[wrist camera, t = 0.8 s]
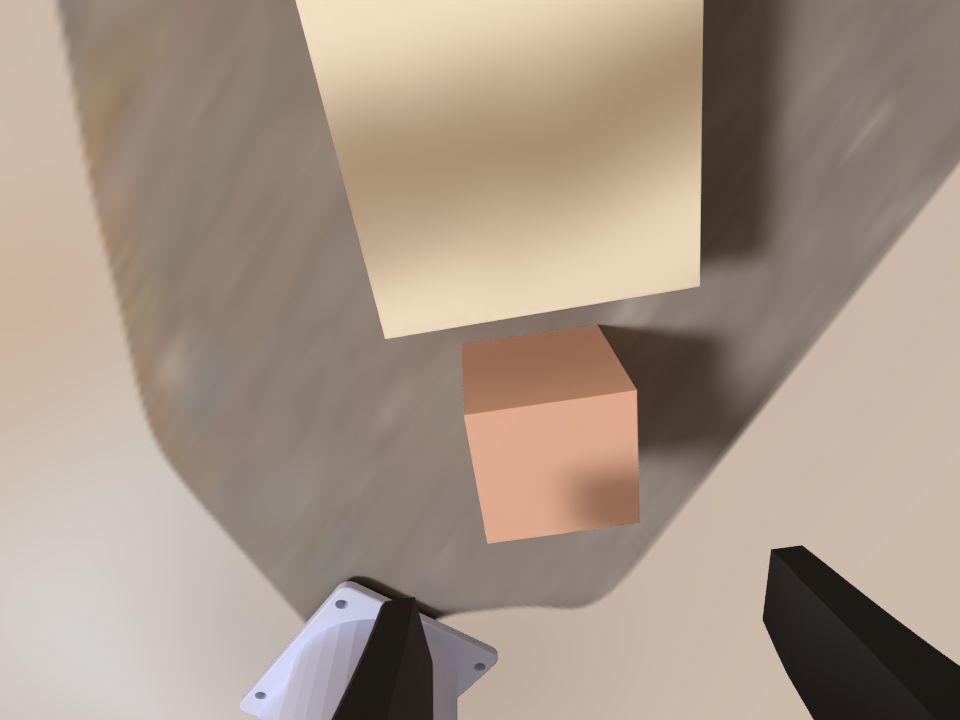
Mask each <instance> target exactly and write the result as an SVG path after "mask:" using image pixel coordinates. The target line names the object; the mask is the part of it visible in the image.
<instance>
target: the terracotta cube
mask: <svg viewBox="0 0 960 720" xmlns="http://www.w3.org/2000/svg"><path fill="white" fill-rule="evenodd" d="M462 364H463V400H464V418H465V424H466V429H467V435H468V440H469V445H470V451H471V456H472V462H473V467H474V473H475V478H476V483H477V489H478V494H479V500H480V505H481V511H482V516H483V521H484V527H485V532H486V538H487V543H488V544H489V543H496V542H503V541H510V540H518V539H525V538H532V537H539V536H547V535H554V534H561V533H568V532H576V531H583V530H590V529H597V528H604V527H612V526H619V525H626V524H633V523H640V519H639V471H638V423H637V390H636V388H635V386H634V385H633V383H632V381H631V380H630V378H629V376H628V375H627V373H626V371H625V370H624V368H623V366H622V365H621V363H620V361H619V360H618V358H617V356H616V355H615V353H614V351H613V350H612V348H611V346H610V345H609V343H608V341H607V340H606V338H605V336H604V335H603V333H602V331H601V330H600V328H599V326H598V325H591V326H584V327H577V328H570V329H564V330H557V331H550V332H543V333H536V334H530V335H523V336H516V337H509V338H503V339H496V340H489V341H482V342H475V343H469V344H462Z"/></svg>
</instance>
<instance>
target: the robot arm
mask: <svg viewBox="0 0 960 720" xmlns="http://www.w3.org/2000/svg"><path fill="white" fill-rule="evenodd" d="M341 600H345V601H341ZM763 622H764V624H765V626H766V629H767V631H768V633H769V635H770V638H771V640H772V642H773V644H774V647H775V649H776V651H777V653H778V655H779V657H780V660H781V662H782V664H783V666H784V668H785V670H786V673H787V674H788V676H789V678H790V679H791V681H792V683H793V685H794V686H795V688H796V690H797V691H798V693H799V695H800V697H801V699H802V700H803V702H804V704H805V706H806V707H807V709H808V711H809V712H810V714H811V716H812V718H813V719H814V720H960V666H959V665H958V664H956V663H955V662H953V661H952V660H951V659H949V658H948V657H946V656H945V655H943V654H942V653H941V652H939V651H938V650H937V649H935V648H934V647H933V646H931V645H930V644H928V643H927V642H926V641H924V640H923V639H922V638H920V637H919V636H917V635H916V634H915V633H914V632H912V631H911V630H910V629H908V628H907V627H906V626H904V625H903V624H902V623H900V622H899V621H898V620H896V619H895V618H894V617H892V616H891V615H890V614H889V613H887V612H886V611H885V610H883V609H882V608H881V607H880V606H878V605H877V604H876V603H874V602H873V601H872V600H871V599H869V598H868V597H867V596H865V595H864V594H863V593H862V592H860V591H859V590H858V589H857V588H855V587H854V586H853V585H851V584H850V583H849V582H848V581H846V580H845V579H844V578H843V577H841V576H840V575H839V574H838V573H836V572H835V571H834V570H833V569H831V568H830V567H829V566H828V565H826V564H825V563H824V562H822V561H821V560H820V559H819V558H818V557H816V556H815V555H814V554H812V553H811V552H810V551H808V550H807V549H806V548H805V547H804V546H802V545H801V546H794V547H787V548H779V549H772V550H771V556H770V563H769V572H768V580H767V588H766V596H765V604H764V613H763ZM497 659H498V657H497V651H496V649H494V648H493V647H491V646H489V645H487V644H485V643H483V642H481V641H478V640H476V639H474V638H472V637H470V636H468V635H466V634H464V633H462V632H459V631H457V630H455V629H453V628H451V627H449V626H447V625H444V624H442V623H440V622H438V621H436V620H434V619H432V618H430V617H428V616H425V615H423V614H421V613H419V611H418V607H417V604H416V600H415V597H413V598H405V599H398V600H391V599H389V598H387V597H385V596H383V595H381V594H379V593H376V592H374V591H372V590H370V589H368V588H366V587H364V586H362V585H359V584H357V583H355V582H352V581H347V582H343V583H341V584H340V585H339V586H338V587H337V588H336V589H335V590H334V591H333V593H332V594H331V595H330V596H329V597H328V598H327V600H326V601H325V602H324V603H323V604H322V605H321V606H320V608H319V609H318V610H317V611H316V612H315V613H314V615H313V616H312V617H311V618H310V619H309V620H308V621H307V623H306V624H305V625H304V626H303V627H302V628H301V630H300V631H299V632H298V633H297V634H296V635H295V637H294V638H293V639H292V640H291V641H290V642H289V643H288V645H287V646H286V647H285V648H284V649H283V650H282V652H281V653H280V654H279V655H278V656H277V657H276V658H275V660H274V661H273V662H272V663H271V664H270V665H269V667H268V668H267V669H266V670H265V671H264V672H263V673H262V675H261V676H260V677H259V678H258V679H257V680H256V682H255V683H254V684H253V685H252V686H251V687H250V688H249V690H248V691H247V692H246V693H245V694H244V696H243V697H242V700H241V702H240V708H241V709H242V710H243V711H244V712H246V713H249V714H252V715H254V716H257V717H258V718H257V720H457V698H458V697H459V696H460V695H461V694H462V693H464V692H465V691H466V690H467V689H468V688H469V687H470V686H471V685H472V684H473V683H475V682H476V681H477V680H478V679H479V678H480V677H481V676H482V675H484V674H485V673H486V672H487V671H488V670H489V669H490V668H491V667H492V666H494V665H495V664H496V662H497Z"/></svg>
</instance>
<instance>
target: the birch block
mask: <svg viewBox="0 0 960 720" xmlns="http://www.w3.org/2000/svg"><path fill="white" fill-rule="evenodd" d="M296 3H297V7H298V11H299V14H300V18H301V22H302V26H303V30H304V33H305V37H306V41H307V45H308V48H309V52H310V56H311V60H312V64H313V67H314V71H315V75H316V79H317V82H318V86H319V90H320V94H321V98H322V101H323V105H324V109H325V113H326V116H327V120H328V124H329V128H330V132H331V135H332V139H333V143H334V147H335V150H336V154H337V158H338V162H339V166H340V169H341V173H342V177H343V181H344V184H345V188H346V192H347V196H348V200H349V203H350V207H351V211H352V215H353V218H354V222H355V226H356V230H357V234H358V237H359V241H360V245H361V249H362V253H363V256H364V260H365V264H366V268H367V271H368V275H369V279H370V283H371V287H372V290H373V294H374V298H375V302H376V305H377V309H378V313H379V317H380V321H381V324H382V328H383V332H384V336H385V339H388V338H394V337H400V336H406V335H412V334H418V333H424V332H430V331H436V330H442V329H448V328H454V327H460V326H466V325H472V324H478V323H484V322H490V321H496V320H502V319H508V318H514V317H519V316H525V315H531V314H537V313H543V312H549V311H555V310H561V309H567V308H573V307H579V306H585V305H591V304H597V303H603V302H609V301H615V300H621V299H627V298H633V297H639V296H645V295H651V294H657V293H663V292H669V291H674V290H680V289H686V288H692V287H698V286H700V224H701V146H702V68H703V0H296Z"/></svg>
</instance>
